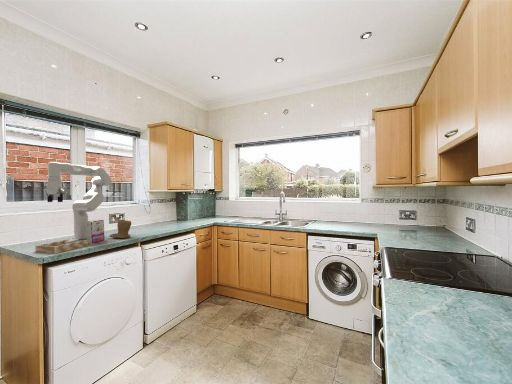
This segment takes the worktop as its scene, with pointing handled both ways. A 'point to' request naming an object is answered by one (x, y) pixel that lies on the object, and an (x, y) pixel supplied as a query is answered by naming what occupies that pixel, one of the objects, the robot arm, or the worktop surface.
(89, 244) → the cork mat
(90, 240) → the candy bar box
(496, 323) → the worktop surface
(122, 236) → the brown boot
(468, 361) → the worktop surface
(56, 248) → the wooden compartment tray
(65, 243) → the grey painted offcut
